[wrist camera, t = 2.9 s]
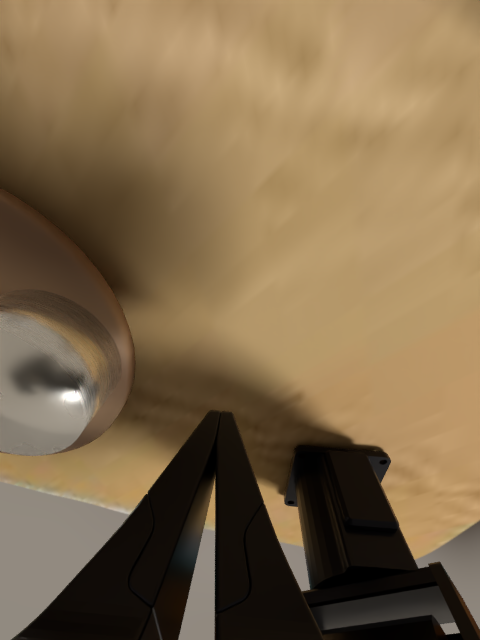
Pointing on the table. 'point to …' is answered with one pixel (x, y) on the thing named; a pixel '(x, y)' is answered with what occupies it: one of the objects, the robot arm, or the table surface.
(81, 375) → the lid
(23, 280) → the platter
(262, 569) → the robot arm
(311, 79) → the table surface
